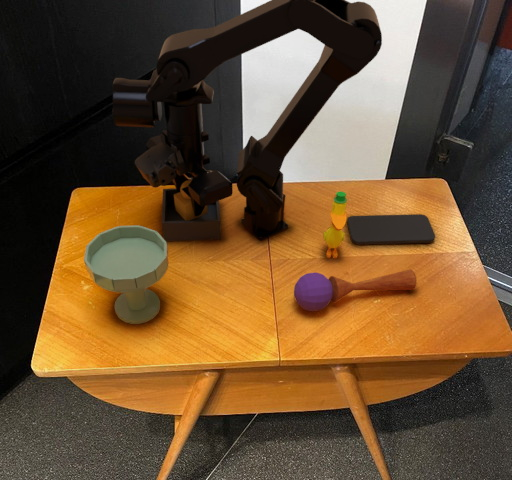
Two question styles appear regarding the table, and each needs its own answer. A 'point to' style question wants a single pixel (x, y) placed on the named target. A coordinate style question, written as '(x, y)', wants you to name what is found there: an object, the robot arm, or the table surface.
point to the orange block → (186, 204)
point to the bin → (193, 229)
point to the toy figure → (336, 224)
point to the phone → (390, 229)
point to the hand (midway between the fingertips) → (191, 208)
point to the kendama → (344, 287)
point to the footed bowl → (129, 269)
